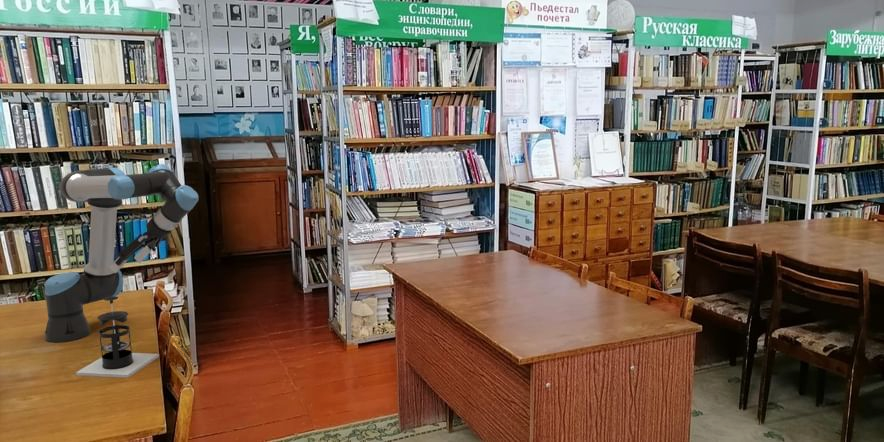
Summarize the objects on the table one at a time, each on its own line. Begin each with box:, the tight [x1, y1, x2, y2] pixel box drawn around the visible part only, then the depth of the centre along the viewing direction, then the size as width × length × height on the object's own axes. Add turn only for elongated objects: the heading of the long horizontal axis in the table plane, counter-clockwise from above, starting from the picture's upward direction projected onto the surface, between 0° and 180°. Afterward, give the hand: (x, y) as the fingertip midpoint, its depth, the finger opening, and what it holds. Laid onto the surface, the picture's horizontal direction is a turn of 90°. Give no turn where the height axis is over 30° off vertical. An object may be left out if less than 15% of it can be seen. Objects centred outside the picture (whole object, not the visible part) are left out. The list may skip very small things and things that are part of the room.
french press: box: [97, 296, 133, 369], centre depth 217 cm, size 12×9×23 cm
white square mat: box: [75, 352, 160, 379], centre depth 219 cm, size 18×18×1 cm
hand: (125, 265), depth 226 cm, fingers open, 13 cm apart
